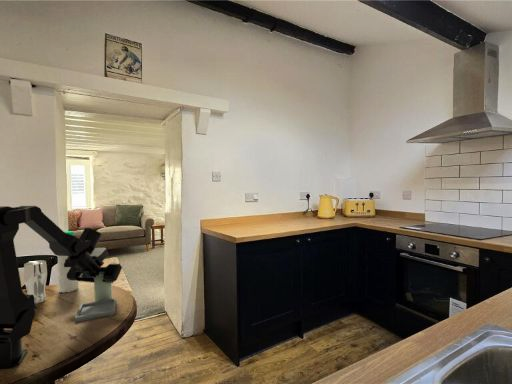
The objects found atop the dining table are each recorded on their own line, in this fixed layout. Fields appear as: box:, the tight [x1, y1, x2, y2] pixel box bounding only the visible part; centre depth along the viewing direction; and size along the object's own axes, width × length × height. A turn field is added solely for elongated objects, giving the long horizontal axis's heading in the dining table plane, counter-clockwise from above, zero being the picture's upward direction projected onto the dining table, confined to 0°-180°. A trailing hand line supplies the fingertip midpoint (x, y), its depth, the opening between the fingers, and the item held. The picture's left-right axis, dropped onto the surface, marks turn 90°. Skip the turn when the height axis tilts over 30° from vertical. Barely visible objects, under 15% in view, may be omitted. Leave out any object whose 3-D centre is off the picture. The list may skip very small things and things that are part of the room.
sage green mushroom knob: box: [93, 274, 113, 302], centre depth 106 cm, size 7×7×12 cm
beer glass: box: [23, 259, 48, 305], centre depth 106 cm, size 7×7×15 cm
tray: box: [74, 297, 117, 323], centre depth 97 cm, size 11×11×2 cm
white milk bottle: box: [57, 230, 79, 294], centre depth 117 cm, size 7×7×25 cm
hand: (105, 281), depth 108 cm, fingers closed on sage green mushroom knob, 6 cm apart
